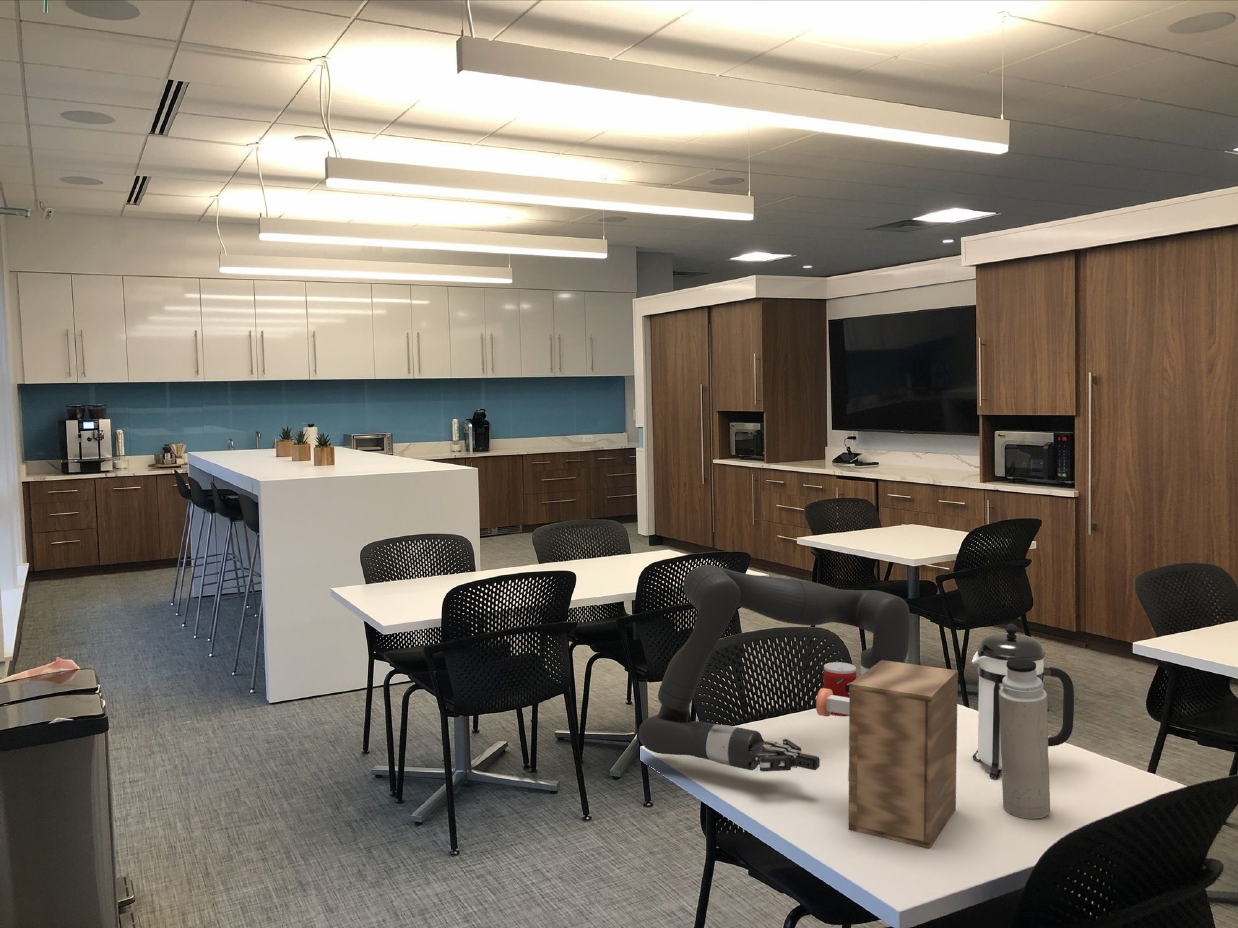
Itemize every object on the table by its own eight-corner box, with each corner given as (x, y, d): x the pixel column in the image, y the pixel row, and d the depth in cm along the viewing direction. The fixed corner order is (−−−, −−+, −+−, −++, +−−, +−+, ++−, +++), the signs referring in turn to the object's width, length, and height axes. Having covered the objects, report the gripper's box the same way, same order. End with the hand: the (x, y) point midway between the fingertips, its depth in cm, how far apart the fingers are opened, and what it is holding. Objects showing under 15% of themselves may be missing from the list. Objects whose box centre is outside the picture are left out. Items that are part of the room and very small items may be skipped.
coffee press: (1031, 791, 185) (1034, 637, 183) (955, 767, 197) (957, 622, 195) (1073, 769, 196) (1077, 623, 194) (999, 747, 208) (1002, 610, 206)
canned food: (838, 718, 228) (838, 672, 228) (816, 708, 235) (816, 664, 235) (863, 713, 232) (863, 668, 231) (841, 704, 239) (841, 660, 238)
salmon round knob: (816, 718, 179) (816, 691, 178) (825, 710, 183) (825, 684, 182) (888, 731, 171) (888, 703, 171) (896, 723, 176) (897, 696, 175)
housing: (848, 829, 170) (849, 683, 168) (880, 793, 185) (881, 659, 183) (929, 848, 162) (931, 696, 160) (955, 809, 177) (957, 670, 175)
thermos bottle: (1043, 795, 180) (1039, 653, 176) (1055, 818, 172) (1051, 669, 168) (998, 796, 181) (993, 654, 177) (1008, 819, 174) (1003, 671, 169)
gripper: (719, 737, 185) (805, 755, 176) (748, 718, 196) (830, 733, 187) (719, 776, 185) (805, 795, 176) (748, 754, 196) (830, 771, 187)
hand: (818, 763), depth 181 cm, fingers closed
